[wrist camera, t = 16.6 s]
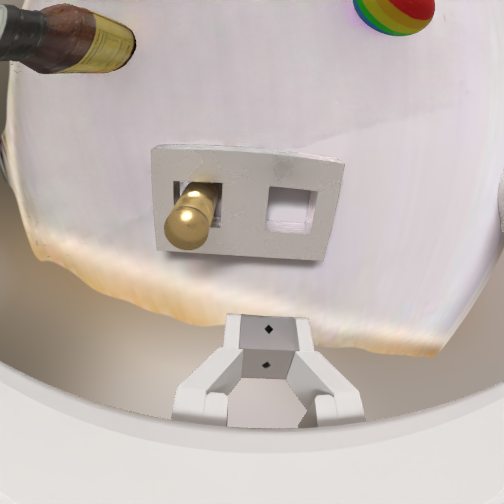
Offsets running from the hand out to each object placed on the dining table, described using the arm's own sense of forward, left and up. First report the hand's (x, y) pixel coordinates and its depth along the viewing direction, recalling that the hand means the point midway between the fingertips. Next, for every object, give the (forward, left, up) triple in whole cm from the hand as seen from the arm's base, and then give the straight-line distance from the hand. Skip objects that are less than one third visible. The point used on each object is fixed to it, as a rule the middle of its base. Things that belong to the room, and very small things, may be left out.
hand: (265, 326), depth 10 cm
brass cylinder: (+6, +3, -23) cm, 24 cm away
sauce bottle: (+17, -15, -23) cm, 32 cm away
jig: (+1, +3, -23) cm, 23 cm away
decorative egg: (-12, -23, -23) cm, 35 cm away
